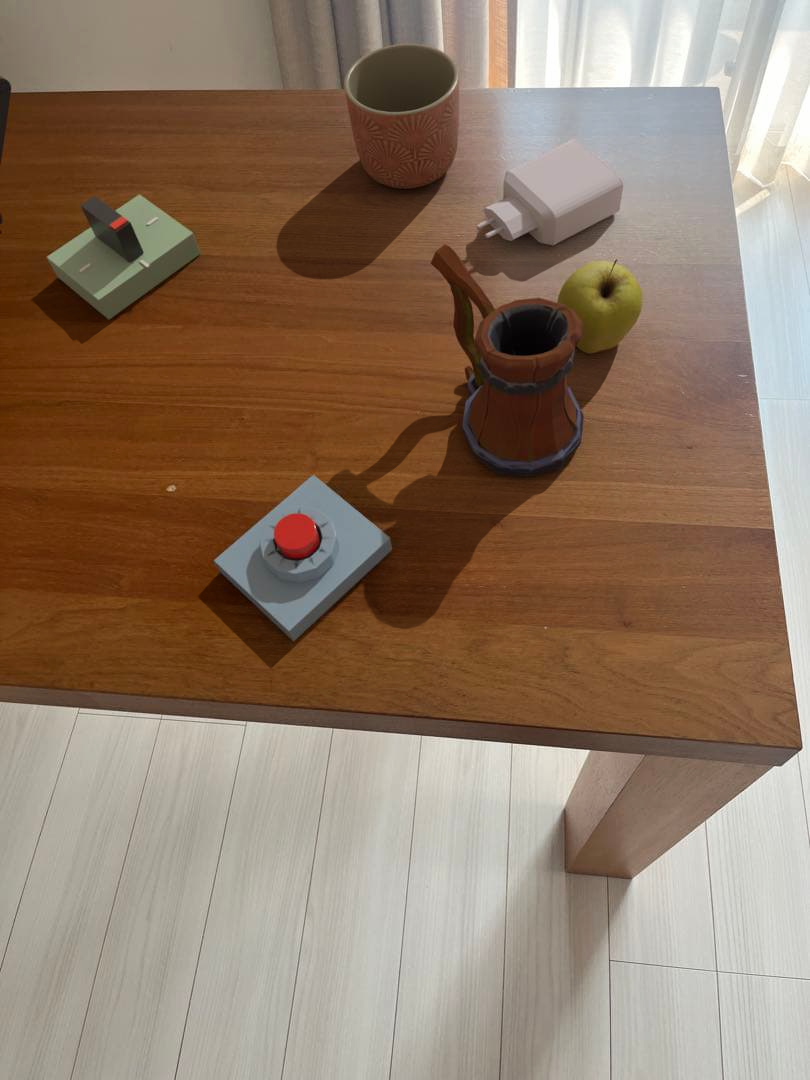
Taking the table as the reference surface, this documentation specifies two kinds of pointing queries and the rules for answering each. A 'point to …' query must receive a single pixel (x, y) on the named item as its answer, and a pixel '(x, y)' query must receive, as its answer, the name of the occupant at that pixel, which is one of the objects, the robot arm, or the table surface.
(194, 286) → the table surface
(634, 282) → the apple
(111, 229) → the dark gray bar
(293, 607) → the button box
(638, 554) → the table surface
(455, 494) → the table surface
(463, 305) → the mug
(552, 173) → the charger
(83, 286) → the panel
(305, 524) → the button
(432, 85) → the planter
